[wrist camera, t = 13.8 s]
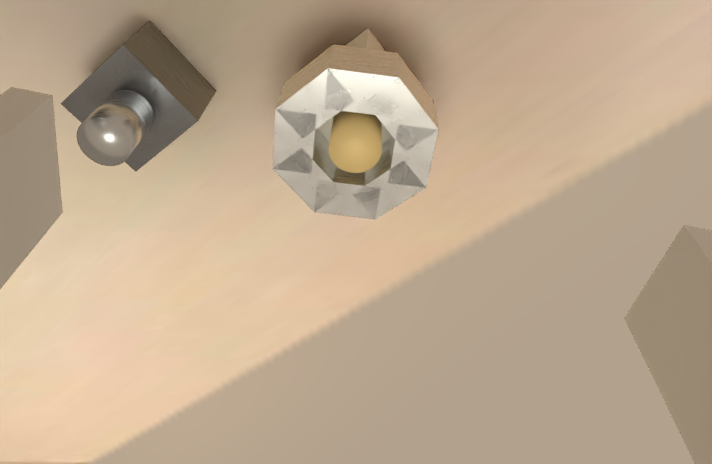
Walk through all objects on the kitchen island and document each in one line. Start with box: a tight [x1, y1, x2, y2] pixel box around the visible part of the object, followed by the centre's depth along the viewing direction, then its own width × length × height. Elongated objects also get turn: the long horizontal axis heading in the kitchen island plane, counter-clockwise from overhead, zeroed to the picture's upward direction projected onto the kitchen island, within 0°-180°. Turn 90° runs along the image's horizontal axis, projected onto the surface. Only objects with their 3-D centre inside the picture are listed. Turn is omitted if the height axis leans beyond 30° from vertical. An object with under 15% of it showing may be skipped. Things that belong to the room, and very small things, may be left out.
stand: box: [61, 21, 216, 171], centre depth 38 cm, size 6×6×9 cm
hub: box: [319, 28, 390, 173], centre depth 37 cm, size 6×6×9 cm
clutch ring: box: [273, 44, 439, 219], centre depth 35 cm, size 9×9×4 cm
